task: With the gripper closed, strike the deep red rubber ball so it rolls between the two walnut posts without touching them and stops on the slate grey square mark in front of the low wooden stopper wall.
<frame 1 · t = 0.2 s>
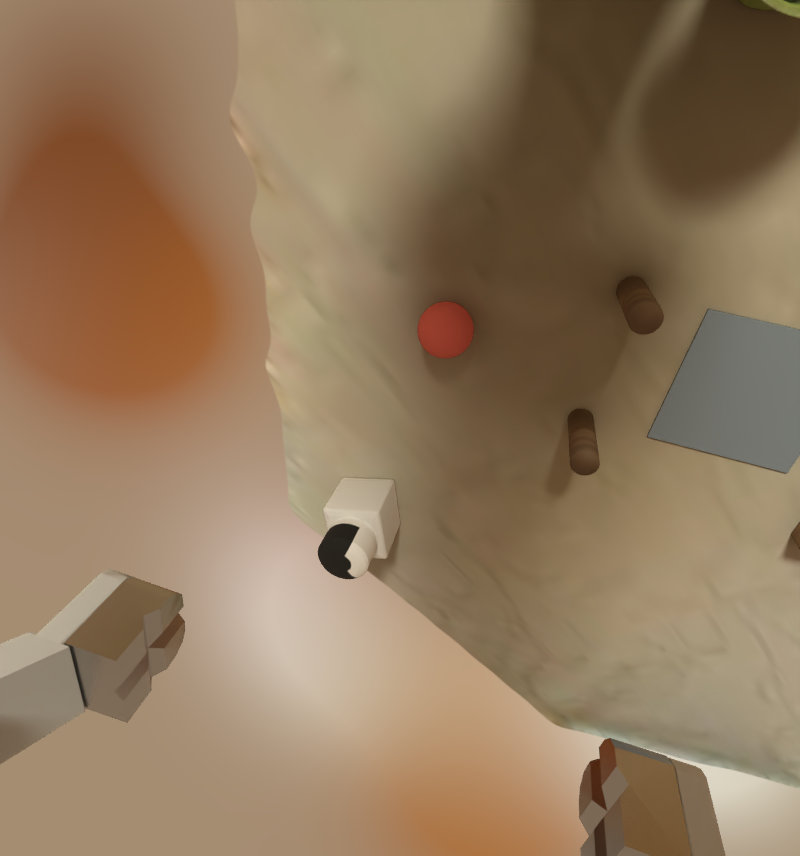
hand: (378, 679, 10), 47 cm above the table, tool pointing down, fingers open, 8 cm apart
medicine bottle: (372, 499, 70), on the table
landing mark: (749, 394, 51), on the table
post 2: (631, 290, 50), on the table
post 1: (580, 419, 57), on the table
ball: (445, 330, 53), on the table
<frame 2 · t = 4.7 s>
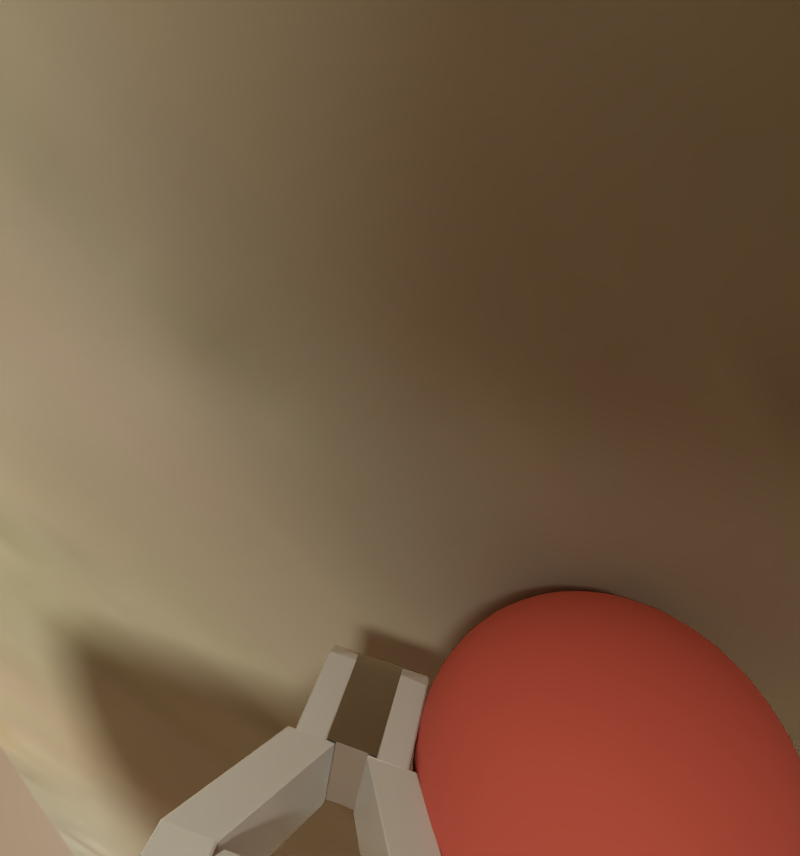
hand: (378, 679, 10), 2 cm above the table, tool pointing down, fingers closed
ball: (593, 779, 8), on the table, touching gripper
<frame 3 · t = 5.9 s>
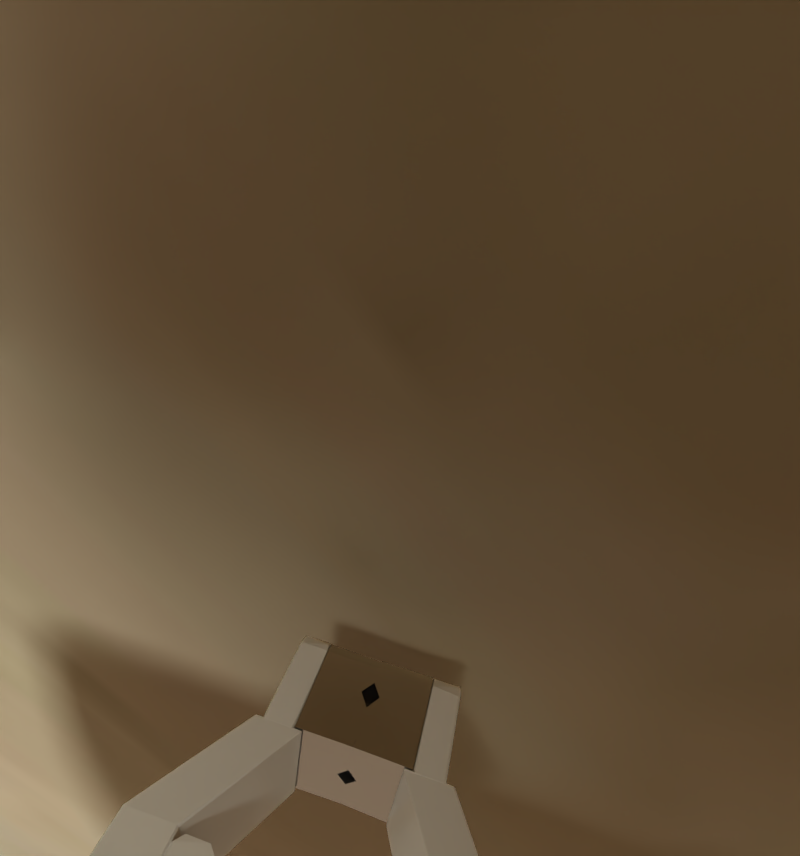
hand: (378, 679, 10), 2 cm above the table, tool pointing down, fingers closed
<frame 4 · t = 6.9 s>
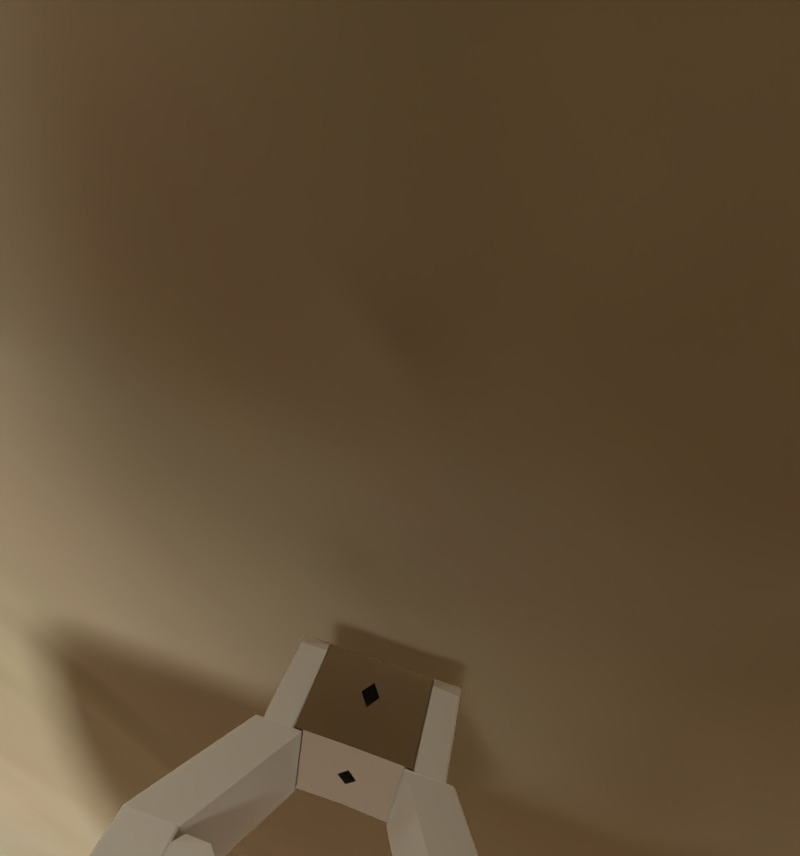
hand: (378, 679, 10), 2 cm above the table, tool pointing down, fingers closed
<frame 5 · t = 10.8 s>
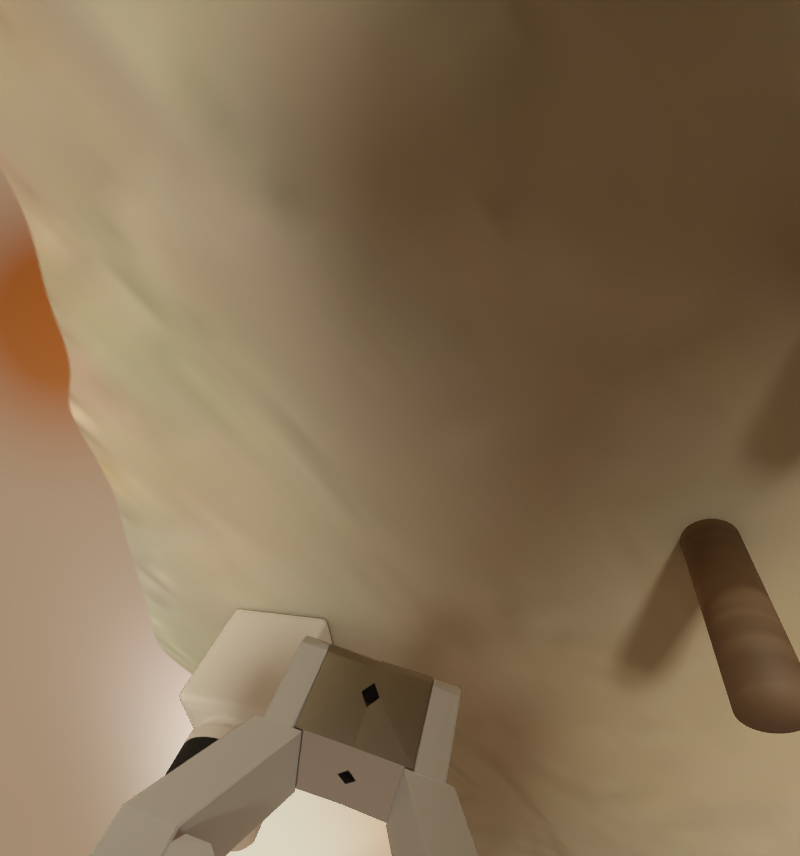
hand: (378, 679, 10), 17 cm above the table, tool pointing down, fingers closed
medicine bottle: (292, 644, 39), on the table
post 1: (709, 540, 26), on the table
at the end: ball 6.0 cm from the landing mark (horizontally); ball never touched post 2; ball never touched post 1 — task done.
